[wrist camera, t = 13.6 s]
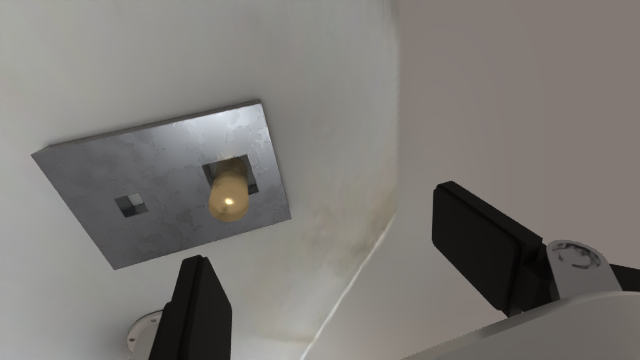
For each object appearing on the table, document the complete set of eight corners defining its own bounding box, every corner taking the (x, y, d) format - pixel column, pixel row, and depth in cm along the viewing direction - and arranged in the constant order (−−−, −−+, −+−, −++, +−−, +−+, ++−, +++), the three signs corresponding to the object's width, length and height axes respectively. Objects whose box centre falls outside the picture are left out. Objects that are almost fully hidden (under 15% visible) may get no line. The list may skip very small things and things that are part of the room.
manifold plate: (288, 208, 45) (291, 218, 43) (122, 256, 41) (114, 270, 39) (259, 99, 37) (260, 103, 34) (47, 146, 33) (30, 154, 30)
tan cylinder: (251, 180, 41) (253, 215, 33) (221, 187, 41) (216, 226, 32) (242, 153, 39) (242, 184, 31) (211, 161, 39) (202, 194, 30)
